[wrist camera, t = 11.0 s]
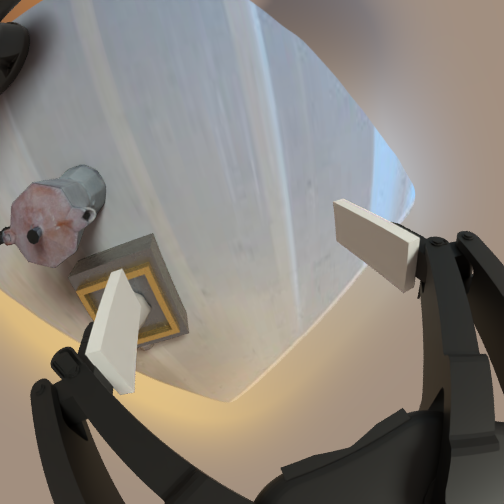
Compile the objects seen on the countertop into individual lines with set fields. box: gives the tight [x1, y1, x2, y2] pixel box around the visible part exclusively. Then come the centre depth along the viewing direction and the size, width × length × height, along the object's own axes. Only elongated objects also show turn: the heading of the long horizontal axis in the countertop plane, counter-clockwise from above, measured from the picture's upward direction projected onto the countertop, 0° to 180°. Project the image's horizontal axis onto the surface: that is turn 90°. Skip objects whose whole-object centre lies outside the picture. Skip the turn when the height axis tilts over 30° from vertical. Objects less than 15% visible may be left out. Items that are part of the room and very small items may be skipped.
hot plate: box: [68, 233, 189, 350], centre depth 42 cm, size 19×15×8 cm
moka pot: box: [0, 165, 106, 268], centre depth 27 cm, size 10×15×20 cm, turn 97°
